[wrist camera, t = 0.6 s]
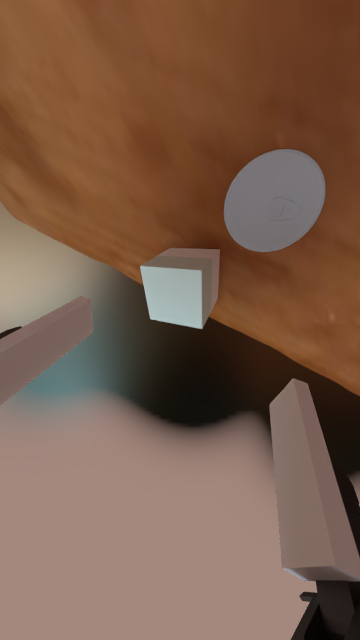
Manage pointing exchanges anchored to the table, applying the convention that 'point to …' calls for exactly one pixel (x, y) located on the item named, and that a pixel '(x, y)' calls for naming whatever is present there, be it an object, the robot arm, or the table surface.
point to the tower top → (178, 289)
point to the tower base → (201, 254)
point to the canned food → (274, 200)
